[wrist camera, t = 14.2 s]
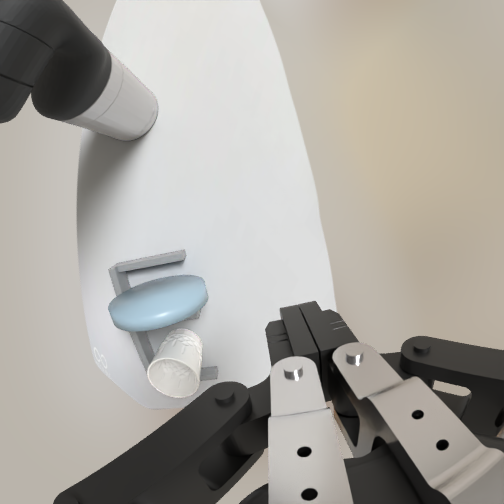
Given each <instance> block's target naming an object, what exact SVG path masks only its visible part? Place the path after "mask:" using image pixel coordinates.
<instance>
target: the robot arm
mask: <svg viewBox="0 0 504 504" xmlns="http://www.w3.org/2000/svg"><path fill="white" fill-rule="evenodd" d="M30 93H31V98H32V102H33V105H34V107H35V109H36V110H37V111H38V112H39V113H40V114H41V115H43V116H45V117H47V118H51V119H55V120H58V121H62V122H66V123H69V124H73V125H76V126H79V127H82V128H85V129H89V130H92V131H95V132H98V133H101V134H104V135H107V136H110V137H113V138H116V139H119V140H123V141H130V140H134V139H137V138H139V137H141V136H142V135H144V134H145V133H146V132H147V131H148V130H149V129H150V128H151V127H152V125H153V124H154V122H155V120H156V117H157V113H158V103H157V99H156V97H155V96H154V94H153V93H152V92H151V91H150V90H149V89H148V88H147V87H146V86H145V85H144V84H143V83H142V82H141V81H140V80H139V79H138V78H137V77H136V76H135V75H134V74H133V73H132V72H131V71H130V70H129V69H128V68H127V67H126V66H125V65H124V64H122V63H121V62H120V61H119V60H118V59H117V58H116V57H115V56H114V55H113V54H112V53H111V52H110V51H109V50H107V48H106V47H105V46H104V45H103V44H102V42H101V41H100V40H99V39H98V38H97V37H96V36H95V35H94V34H93V33H92V32H91V31H90V30H89V29H88V28H87V27H86V26H85V25H84V24H83V22H82V21H81V20H80V19H79V18H78V17H77V15H76V14H75V13H74V12H73V11H72V10H71V9H70V7H69V6H67V4H65V3H64V1H63V0H0V123H4V122H8V121H10V120H12V119H13V118H15V117H16V115H17V114H18V113H19V111H20V110H21V108H22V107H23V105H24V104H25V102H26V100H27V98H28V96H29V95H30ZM280 315H281V320H278V321H272V322H269V324H268V325H267V327H266V329H265V331H266V337H267V342H268V348H269V354H270V360H271V366H272V368H271V371H270V375H269V376H268V377H267V379H265V380H264V381H263V382H261V383H260V384H258V385H255V386H253V387H250V388H248V389H247V387H246V386H244V385H243V384H241V383H238V382H222V383H218V384H216V385H213V386H211V387H210V388H208V389H207V390H206V391H205V392H203V393H202V394H201V395H200V396H199V397H197V398H196V399H195V400H194V401H193V402H191V403H190V404H189V405H188V406H186V407H185V408H184V409H183V410H181V411H180V412H179V413H177V414H176V415H175V416H174V417H172V418H171V419H170V420H168V421H167V422H166V423H165V424H163V425H162V426H161V427H159V428H158V429H157V430H156V431H154V432H153V433H151V434H150V435H149V436H147V437H146V438H144V439H143V440H142V441H140V442H139V443H138V444H136V445H135V446H133V447H132V448H130V449H129V450H128V451H126V452H125V453H123V454H122V455H120V456H119V457H117V458H116V459H114V460H113V461H112V462H110V463H108V464H107V465H106V466H104V467H102V468H101V469H100V470H98V471H96V472H95V473H93V474H91V475H90V476H88V477H87V478H85V479H83V480H82V481H80V482H78V483H77V484H75V485H73V486H72V487H70V488H68V489H66V490H65V491H63V492H61V493H60V494H59V495H58V496H57V497H56V499H55V500H54V503H53V504H216V503H217V502H218V501H219V500H220V499H221V498H222V497H223V496H224V495H225V494H226V493H227V492H228V491H229V490H230V489H231V488H232V487H233V486H234V485H235V484H236V483H237V482H238V481H239V480H240V479H241V478H242V477H243V476H244V474H245V473H246V472H247V471H248V470H249V469H250V468H251V467H252V465H254V463H255V462H256V461H257V460H258V459H259V458H260V456H261V455H262V454H263V452H264V449H265V448H268V453H269V454H268V457H269V460H268V470H269V483H267V484H265V485H263V486H262V487H260V488H258V489H256V490H255V491H253V492H252V493H251V494H249V495H248V496H247V497H246V498H244V499H243V500H242V501H241V502H240V503H239V504H504V350H498V349H492V348H486V347H480V346H474V345H469V344H463V343H458V342H453V341H448V340H442V339H437V338H432V337H427V336H416V337H412V338H410V339H408V340H406V341H405V342H404V343H403V345H402V347H401V352H396V353H387V354H379V353H378V352H377V351H376V350H375V349H374V348H373V347H372V346H370V345H368V344H365V343H359V341H358V340H357V338H356V337H355V336H354V334H353V333H352V331H351V330H350V329H349V327H347V324H346V323H345V322H344V321H343V319H342V318H341V316H340V315H339V314H338V313H336V312H334V311H332V310H330V309H329V310H325V311H322V310H321V309H320V307H319V305H318V304H317V302H316V301H312V302H308V303H303V304H298V305H293V306H288V307H283V308H280ZM435 380H437V381H441V382H445V383H449V384H454V385H459V386H462V387H466V388H468V389H469V390H470V391H471V393H470V394H469V395H467V396H457V395H454V394H449V393H445V392H441V391H437V390H433V385H434V381H435ZM331 400H332V403H333V405H334V418H335V420H336V422H337V424H338V426H339V428H340V430H341V432H342V434H343V436H344V438H345V440H346V442H347V444H348V446H349V448H350V450H351V452H352V454H353V457H354V458H349V459H343V456H342V452H341V448H340V443H339V439H338V436H337V431H336V428H335V424H334V420H333V416H332V412H331V409H330V408H329V407H328V408H327V407H326V403H325V402H327V401H331Z"/></svg>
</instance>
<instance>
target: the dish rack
mask: <svg viewBox="0 0 504 504" xmlns="http://www.w3.org/2000/svg"><path fill="white" fill-rule="evenodd" d="M185 257H186V253H185V250H181V251H176V252H170V253H165V254H160V255H155V256H150V257H145V258H140V259H136V260H131V261H126V262H121V263H117V264H115V265H114V266H112V267H111V268H110V269H108V270H109V274H110V277H111V280H112V283H113V286H114V290H115V293H116V296H117V297H116V298H114V299H113V300H112V301H111V303H110V304H109V307H108V309H109V312H110V315H111V318H112V320H113V323H114V325H115V326H116V327H117V328H119V329H121V330H125V331H129V332H130V334H131V337H132V339H133V342H134V344H135V347H136V349H137V352H138V354H139V356H140V359H141V361H142V363H143V365H144V368H145V370H146V372H147V370H148V367H149V365H150V363H151V361H152V360H153V358H154V356H155V354H154V352H153V349H152V347H151V344H150V342H149V339H148V336H147V334H146V331H148V330H154V329H159V328H162V327H166V326H169V325H172V324H175V323H177V322H180V321H182V320H189V319H196V318H199V315H200V309H201V308H202V307H203V306H204V305H205V304H206V302H207V300H208V293H207V289H206V285H205V281H204V280H203V279H202V278H201V277H198V276H193V275H179V276H171V277H165V278H160V279H156V280H152V281H149V282H146V283H143V284H140V285H138V286H135V287H133V288H131V287H130V284H129V280H128V277H127V274H126V271H129V270H134V269H139V268H144V267H150V266H155V265H160V264H166V263H171V262H176V261H181V260H184V258H185ZM217 377H218V368H217V366H216V367H207V368H201V373H200V381H202V380H211V379H217Z"/></svg>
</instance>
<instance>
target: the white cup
mask: <svg viewBox="0 0 504 504" xmlns="http://www.w3.org/2000/svg"><path fill="white" fill-rule="evenodd" d="M202 348H203V344H202V342H201V339H200V337H199V336H198V335H196V334H195V333H194V332H193V331H190V330H188V329H175V330H173V331H171V332H169V334H168V335H167V337H166V338H165V340H164V341H163V342H162V344H161V346H160V347H159V349H158V351H157V352H156V354H155V356H154V358H153V360H152V361H151V363H150V365H149V367H148V370H147V376H148V379H149V381H150V383H151V385H152V386H153V387H154V388H155V389H156V390H157V391H159V392H160V393H162V394H164V395H167V396H170V397H174V398H184V397H188V396H191V395H192V394H194V393H195V392H196V391H197V389H198V387H199V382H200V373H201V364H202Z"/></svg>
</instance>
